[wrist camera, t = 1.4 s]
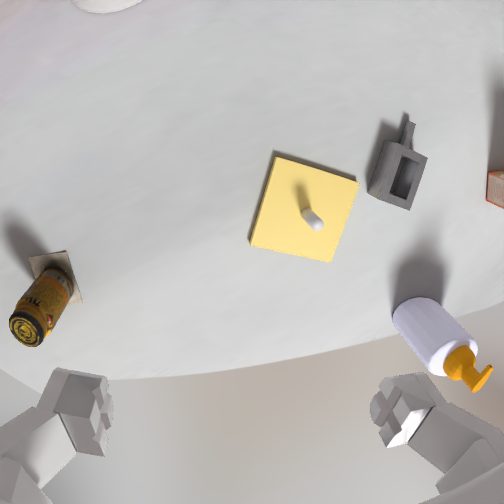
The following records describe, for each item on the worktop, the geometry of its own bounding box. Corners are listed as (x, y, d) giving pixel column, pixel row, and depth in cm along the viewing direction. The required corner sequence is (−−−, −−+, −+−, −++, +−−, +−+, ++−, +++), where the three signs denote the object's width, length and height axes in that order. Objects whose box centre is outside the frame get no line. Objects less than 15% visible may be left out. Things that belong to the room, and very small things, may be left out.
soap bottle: (448, 302, 55) (510, 365, 36) (427, 336, 58) (481, 402, 39) (404, 290, 51) (474, 364, 33) (382, 328, 54) (439, 408, 36)
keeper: (275, 156, 39) (285, 162, 34) (356, 181, 42) (375, 191, 37) (249, 242, 44) (255, 260, 39) (328, 259, 47) (342, 277, 42)
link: (392, 114, 39) (406, 115, 36) (421, 129, 40) (435, 131, 37) (367, 192, 43) (378, 199, 40) (396, 203, 44) (409, 210, 41)
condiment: (45, 305, 43) (16, 352, 32) (28, 256, 40) (-11, 298, 29) (83, 301, 44) (58, 353, 33) (67, 251, 40) (32, 294, 30)
